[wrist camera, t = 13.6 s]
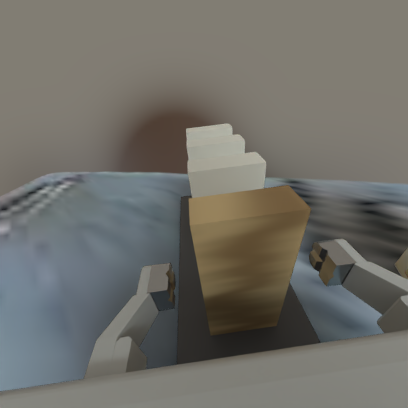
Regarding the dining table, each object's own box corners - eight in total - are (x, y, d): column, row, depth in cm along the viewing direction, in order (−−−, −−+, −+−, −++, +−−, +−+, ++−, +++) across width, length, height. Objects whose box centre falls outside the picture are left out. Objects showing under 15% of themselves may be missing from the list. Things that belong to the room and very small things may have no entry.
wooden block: (210, 335, 14) (189, 225, 7) (207, 308, 15) (188, 198, 9) (276, 325, 14) (311, 208, 7) (266, 299, 15) (288, 185, 9)
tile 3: (200, 238, 22) (186, 147, 16) (199, 227, 24) (186, 140, 17) (242, 233, 22) (244, 140, 16) (238, 222, 24) (239, 134, 17)
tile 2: (204, 276, 18) (187, 172, 12) (202, 259, 19) (187, 160, 13) (255, 268, 18) (266, 162, 12) (249, 252, 20) (256, 151, 13)
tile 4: (198, 213, 26) (186, 133, 20) (197, 205, 28) (186, 128, 21) (232, 208, 26) (232, 127, 20) (230, 201, 28) (228, 123, 21)
